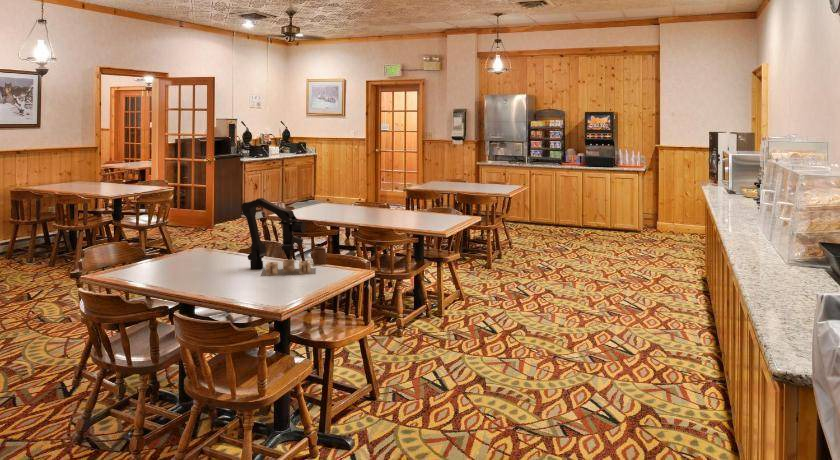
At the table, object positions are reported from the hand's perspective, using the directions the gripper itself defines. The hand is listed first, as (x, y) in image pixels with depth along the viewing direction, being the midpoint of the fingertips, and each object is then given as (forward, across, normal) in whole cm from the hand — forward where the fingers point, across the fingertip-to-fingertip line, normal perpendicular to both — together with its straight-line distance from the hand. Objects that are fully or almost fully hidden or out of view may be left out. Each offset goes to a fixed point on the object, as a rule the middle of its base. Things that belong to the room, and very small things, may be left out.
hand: (288, 259), depth 346 cm
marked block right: (+7, -6, -9) cm, 13 cm away
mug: (+8, +16, -16) cm, 24 cm away
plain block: (+7, 0, 0) cm, 7 cm away
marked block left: (+7, -6, +9) cm, 13 cm away
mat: (+7, -3, 0) cm, 8 cm away
